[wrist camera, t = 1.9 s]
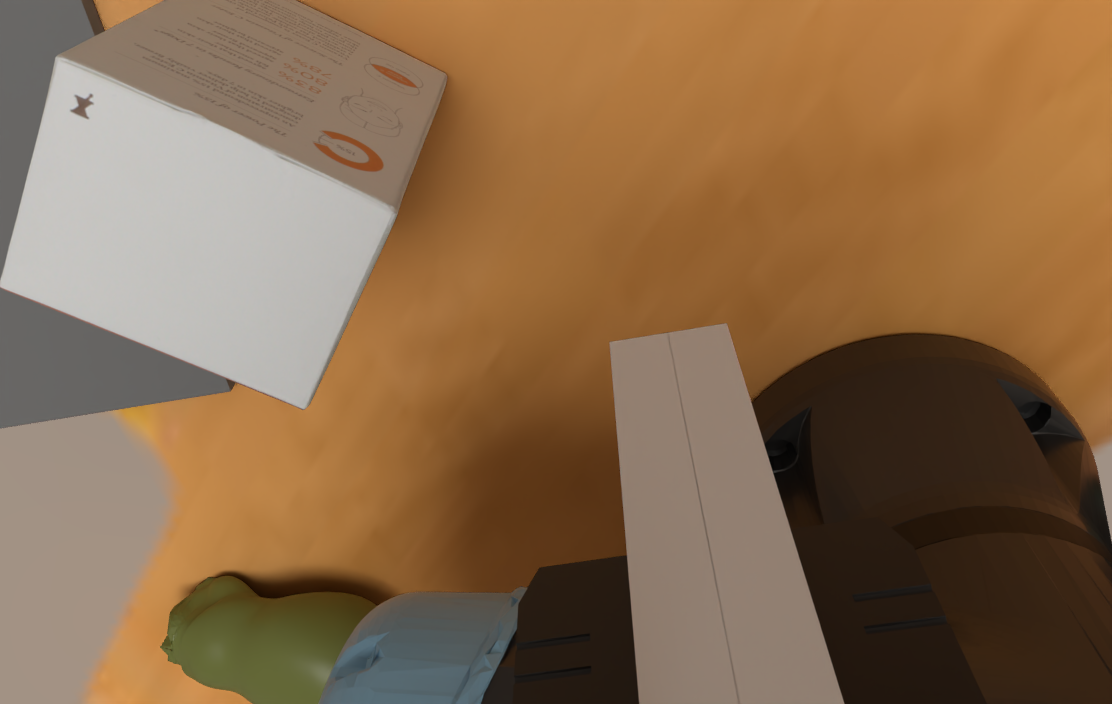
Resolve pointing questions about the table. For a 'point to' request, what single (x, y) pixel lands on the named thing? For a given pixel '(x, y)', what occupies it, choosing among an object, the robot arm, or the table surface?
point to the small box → (221, 184)
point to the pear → (261, 639)
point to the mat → (28, 327)
